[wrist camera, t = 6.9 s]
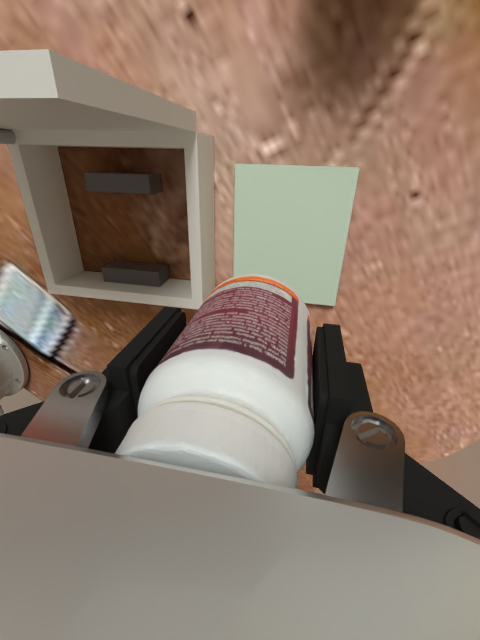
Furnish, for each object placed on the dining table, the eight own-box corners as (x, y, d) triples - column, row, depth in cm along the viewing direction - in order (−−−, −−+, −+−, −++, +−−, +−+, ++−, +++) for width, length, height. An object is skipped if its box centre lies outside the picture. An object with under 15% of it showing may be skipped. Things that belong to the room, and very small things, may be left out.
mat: (334, 303, 31) (334, 305, 30) (234, 293, 32) (233, 295, 32) (358, 167, 25) (359, 167, 25) (236, 163, 27) (235, 163, 26)
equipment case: (215, 291, 33) (123, 422, 16) (77, 278, 35) (-119, 379, 19) (213, 119, 26) (48, 49, 9) (41, 118, 28) (-321, 62, 12)
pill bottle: (182, 308, 14) (40, 474, 7) (269, 248, 12) (204, 388, 5) (244, 384, 15) (184, 594, 8) (333, 341, 13) (363, 568, 6)
